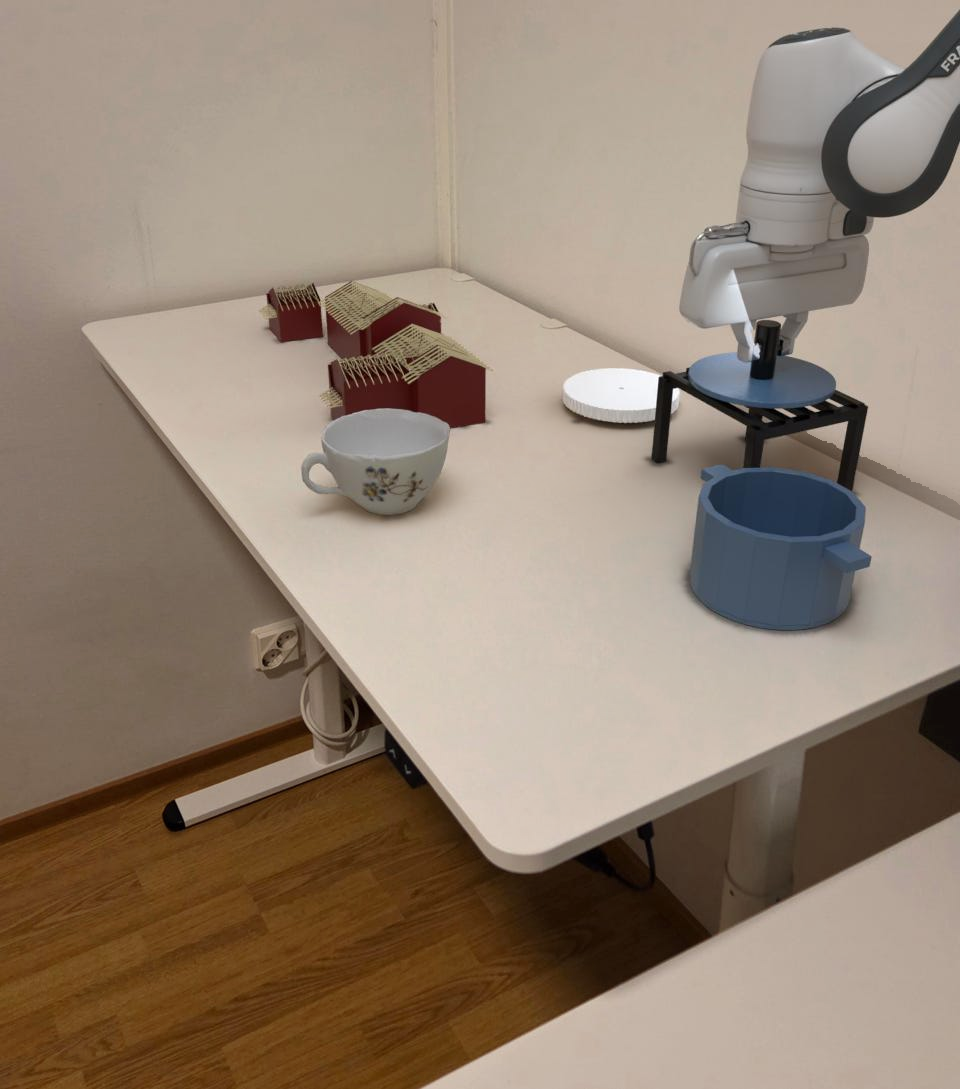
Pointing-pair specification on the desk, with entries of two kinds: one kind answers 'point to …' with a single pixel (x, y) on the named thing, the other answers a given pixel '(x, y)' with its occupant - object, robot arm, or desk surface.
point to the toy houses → (384, 353)
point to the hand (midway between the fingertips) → (764, 357)
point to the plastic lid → (615, 395)
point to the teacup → (382, 458)
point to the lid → (763, 376)
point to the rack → (762, 431)
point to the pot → (776, 547)
